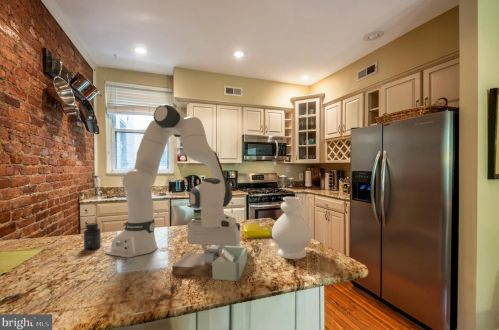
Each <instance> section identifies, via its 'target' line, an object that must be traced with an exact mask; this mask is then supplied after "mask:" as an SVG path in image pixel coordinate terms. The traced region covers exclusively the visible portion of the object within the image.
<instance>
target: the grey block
mask: <svg viewBox="0 0 499 330" xmlns="http://www.w3.org/2000/svg"><path fill="white" fill-rule="evenodd" d="M220 249H221V248H220V245H209V247H208V248H207V251H206V252H205V253H204V252H203V253H204V265H208V266H212V265H211V264H212V262H213V261H215V260H216V259H217V258H219V256H217V252H218V250H220Z"/></svg>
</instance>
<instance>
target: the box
mask: <svg viewBox="0 0 499 330" xmlns="http://www.w3.org/2000/svg"><path fill="white" fill-rule="evenodd" d="M225 249H226V250H227V251H228V252H230V253H231V254H232V255H234V256H235V258H234V259H233V261H232V262H222V261H213V262H212V273H213V277H212V280H217V281H218V280H219V281H229V282H231V281H233V282H235V281H236V282H240V280H241V277H242V275H243V273H244V269H245V268H246V265H247V263H248V247H247V246H240V247H236V246H224V250H225Z"/></svg>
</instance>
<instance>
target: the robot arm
mask: <svg viewBox="0 0 499 330" xmlns="http://www.w3.org/2000/svg"><path fill="white" fill-rule="evenodd" d="M202 122H203V121H202V120H201V119H200V118H198V117H196V116H188V115H187V114H186V113H185V112H183V111H181V110H179V109H177V108H175V107H174V106H172V105H171V104H166V103H165V104H160V105H158V106H157V107H156V109H155V110H154V112H153V120H151V121H150V123H149V124H148V125H147V127H146V129H145V131H144V134H143V136H142V138H141V142H140V143H139V146H138V149H137V152H136V159H135V163H134V164H135V165H134V168H133V169H130V170H129V171H127V172H126V173H125V175H124V176H122V180H121V181H122V186H123V188H124V194H125V198H126V204H127V221H126V222H124V223H123V224H122V227H124V226H125V227H124V229H123V230H122V231H121V232H119V233H118V234H117V235H116V236H115V237H113V239H112V242H111V247H109V248H107V249H106V250H105V255H112V256H117V257H123V258H134V257H136V256H141V255H146V254H150V253H152V252H154V251H156V250H158V244H157V240H156V235H155V223H156V222H155V218H154V201H153V197H152V189H151V188H152V187H153V186H154V184H155V182H156V179H157V175H158V172H159V168H160V164H161V163H160V162H161V161H162V157H163V154H164V152H165V150H166V147H167V144H168V140H169V138H170V137H171V136H174V137H175V138H179V137H180V138H181V146H182V151H183V153H184V154H185V156H186V157H187V158H189V159H190V160H192V161H195V162H199V163H202V164H203V165H206V167H208V169H209V170H210V172H211V174H212V177H206V178H204V179H202V181H201V183H199V184H198V185H196V186H193V187H192V188H191V189H190V191H189V192H188V201H189V205H190V206H191V207H192V208H194V209H196V208H197V209H202V211H201V220H194V219H191V220H189V221H188V223H187V230H188V231H187V236H186V239H187V240H186V241H187V243H188V244H189V245H201V248H202V250H203V253H205V252H206V251H207V250H208V248H207V246H211V245H220V248H221V249H220V250H218V252H217V256H219V257H221V256H222V253H223V248H224V246H236V245H237V244H238V243H239V232H238V228H237V226H236V225H235V223H237V220H236V219H237V218H235V217H233V216H231V215H227V214H225V210H224V207H227V206H228V205H229V204H230V203H231V202H232V200H233V191H232V189H231V187H230V185H229V183H228V181H227V178H226V174H225V172H224V169H223V167H222V165H221V162H220V158H219V156H218V154H217V152H216V151H215V150H213V149H212V147H211V146H210V144H209V142H208V139H207V135H206V130H205V127H204V124H203V123H202Z"/></svg>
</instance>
